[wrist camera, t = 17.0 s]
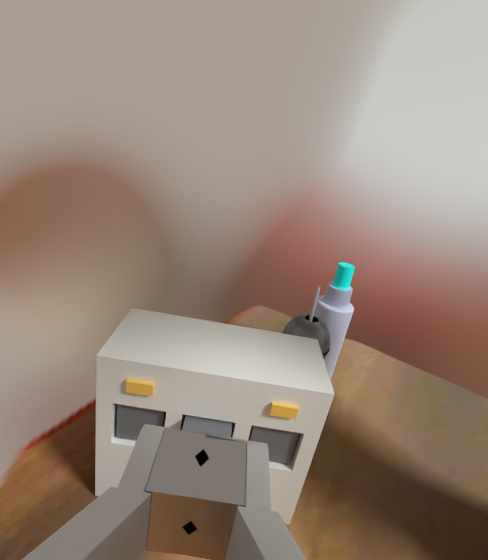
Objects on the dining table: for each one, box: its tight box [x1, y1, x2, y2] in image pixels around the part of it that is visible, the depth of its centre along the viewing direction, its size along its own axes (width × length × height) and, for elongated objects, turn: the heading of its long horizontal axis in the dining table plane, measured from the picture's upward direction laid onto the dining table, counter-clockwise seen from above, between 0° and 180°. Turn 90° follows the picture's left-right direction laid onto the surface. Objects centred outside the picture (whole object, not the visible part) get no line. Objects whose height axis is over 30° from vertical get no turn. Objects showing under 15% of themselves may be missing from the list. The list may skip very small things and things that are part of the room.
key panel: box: [95, 308, 335, 525], centre depth 37 cm, size 21×9×18 cm, turn 88°
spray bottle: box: [313, 262, 355, 380], centre depth 57 cm, size 6×6×22 cm
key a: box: [116, 404, 166, 440], centre depth 34 cm, size 4×4×4 cm
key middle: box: [182, 415, 232, 438], centre depth 33 cm, size 4×4×4 cm
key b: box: [248, 425, 299, 464], centre depth 35 cm, size 4×4×4 cm
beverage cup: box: [282, 286, 330, 359], centre depth 51 cm, size 7×7×20 cm
